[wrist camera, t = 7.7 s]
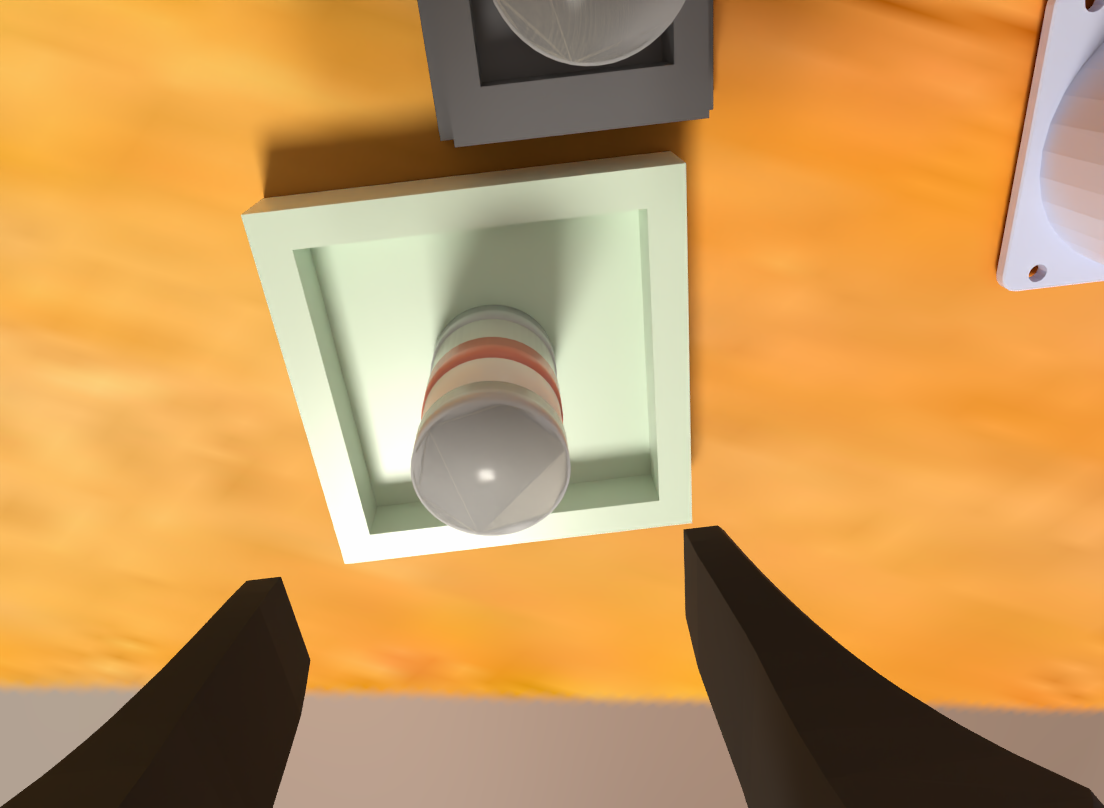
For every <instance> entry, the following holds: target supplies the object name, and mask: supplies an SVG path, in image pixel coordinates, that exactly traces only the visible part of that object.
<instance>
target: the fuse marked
mask: <svg viewBox="0 0 1104 808" xmlns="http://www.w3.org/2000/svg"><path fill="white" fill-rule="evenodd" d="M410 470H411V479H412V483H413V487H414V489H415V492H416V494H417V496H418V498H419V499H420V501H421V503H422V504H423V505H424V506H425V508H426V509H427V510H428V511H429V512H430V513H431V514H432V515H433V516H434V517H436V518H437V519H438V520H440V521H441V522H443V523H444V524H446V525H448V526H450V527H452V528H454V529H457V530H459V531H462V532H466V533H469V534H475V535H482V536H500V535H507V534H512V533H516V532H519V531H522V530H525V529H527V528H529V527H531V526H533V525H535V524H537V523H538V522H540V521H542V520H543V519H544V518H546V517H547V516H548V515H549V514H550V513H551V512H552V511H553V510H554V509H555V508H556V507H557V506H558V504H559V503H560V501H561V500H562V498H563V496H564V494H565V492H566V490H567V487H568V484H569V479H570V471H571V465H570V457H569V450H568V443H567V437H566V432H565V429H564V426H563V410H562V403H561V396H560V389H559V384H558V381H557V369H556V362H555V355H554V349H553V346H552V343H551V340H550V338H549V336H548V334H547V333H546V331H545V330H544V328H543V327H542V326H541V325H540V324H539V323H538V322H537V321H536V320H535V319H534V318H532V317H531V316H530V315H528V314H526V313H525V312H523V311H521V310H518V309H516V308H513V307H509V306H504V305H483V306H478V307H474V308H471V309H469V310H466V311H464V312H463V313H461V314H459V315H457V316H456V317H455V318H454V319H452V320H451V321H450V322H449V323H448V324H447V325H446V326H445V328H444V329H443V330H442V332H441V334H440V335H439V337H438V339H437V342H436V345H435V349H434V354H433V358H432V363H431V371H430V376H429V379H428V382H427V387H426V392H425V396H424V401H423V406H422V412H421V422H420V424H419V427H418V430H417V434H416V439H415V444H414V448H413V453H412V458H411V468H410Z"/></svg>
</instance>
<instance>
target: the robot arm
mask: <svg viewBox="0 0 1104 808" xmlns="http://www.w3.org/2000/svg"><path fill="white" fill-rule="evenodd" d="M1036 265H1038V270H1037V272H1036V273H1035V274H1034V275H1033V276H1031V277H1029V272H1030V270H1031V269H1032V268H1033V267H1034V266H1036ZM997 281H998V283H999V285H1001V286H1003V287H1004V288H1006V289H1008V290H1010V291H1022V290H1030V289H1039V288H1047V287H1056V286H1064V285H1073V284H1081V283H1090V282H1098V281H1104V0H1095V1H1094V3H1093V5H1092V6H1091V7H1090V8H1089V9H1088V10H1087V9H1086V8H1085V0H1048V2H1047V5H1046V10H1045V15H1044V21H1043V26H1042V32H1041V37H1040V42H1039V48H1038V53H1037V59H1036V64H1035V69H1034V75H1033V80H1032V85H1031V91H1030V96H1029V102H1028V107H1027V112H1026V118H1025V123H1024V129H1023V134H1022V139H1021V145H1020V150H1019V155H1018V161H1017V166H1016V172H1015V177H1014V182H1013V188H1012V193H1011V199H1010V204H1009V209H1008V215H1007V220H1006V225H1005V231H1004V236H1003V242H1002V247H1001V252H1000V258H999V263H998V269H997ZM684 567H685V610H686V620H687V624H688V628H689V632H690V637H691V641H692V645H693V649H694V653H695V657H696V661H697V665H698V669H699V672H700V675H701V677H702V680H703V683H704V686H705V689H706V691H707V694H708V697H709V700H710V702H711V705H712V708H713V711H714V713H715V716H716V719H717V721H718V724H719V727H720V730H721V732H722V735H723V738H724V740H725V743H726V746H727V748H728V751H729V754H730V756H731V759H732V762H733V765H734V767H735V770H736V773H737V776H738V778H739V781H740V784H741V787H742V789H743V793H744V796H745V799H746V802H747V805H748V808H1104V805H1103V804H1102V803H1101V802H1100V801H1099V800H1098V798H1097V797H1096V796H1095V795H1094V794H1093V792H1091V790H1090V789H1089V788H1086V787H1084V786H1082V785H1080V784H1078V783H1076V782H1074V781H1071V780H1069V779H1067V778H1065V777H1063V776H1061V775H1058V774H1056V773H1054V772H1052V771H1050V770H1048V769H1046V768H1043V767H1041V766H1039V765H1037V764H1035V763H1033V762H1031V761H1029V760H1026V759H1024V758H1022V757H1020V756H1018V755H1016V754H1013V753H1012V752H1010V751H1008V750H1006V749H1004V748H1002V747H1000V746H998V745H996V744H994V743H993V742H991V741H989V740H987V739H985V738H983V737H981V736H980V735H978V734H976V733H974V732H972V731H970V730H968V729H967V728H965V727H963V726H961V725H959V724H958V723H956V722H954V721H953V720H951V719H949V718H947V717H946V716H944V715H942V714H941V713H939V712H937V711H936V710H934V709H933V708H931V707H929V706H928V705H926V704H925V703H923V702H921V701H920V700H918V699H917V698H915V697H913V696H912V695H910V694H909V693H907V692H905V691H904V690H902V689H900V688H899V687H898V686H896V685H895V684H893V683H892V682H890V681H889V680H887V679H886V678H884V677H883V676H881V675H880V674H879V673H877V672H876V671H875V670H873V669H872V668H871V667H869V666H868V665H866V664H865V663H864V662H862V661H861V660H860V659H858V658H857V657H856V656H854V655H853V654H852V653H851V652H849V651H848V650H847V649H845V648H844V647H843V646H842V645H841V644H839V643H838V642H837V641H836V640H834V639H833V638H832V637H831V636H830V635H828V634H827V633H826V632H825V631H824V630H823V629H821V628H820V627H819V626H818V625H817V624H816V623H814V622H813V621H812V620H811V619H810V618H809V617H808V616H807V615H805V614H804V613H803V612H802V611H801V610H800V609H799V608H798V607H797V606H796V605H795V604H794V603H793V602H792V601H790V600H789V599H788V598H787V597H786V596H785V595H784V594H783V593H782V592H781V591H780V590H779V589H778V588H777V587H776V586H775V585H774V584H773V583H772V582H771V581H770V580H769V579H768V578H767V577H766V576H765V575H764V574H763V573H762V572H761V571H760V570H759V569H758V568H757V567H756V566H755V565H754V564H753V562H752V561H751V560H750V559H749V558H748V557H747V556H746V555H745V554H744V553H743V552H742V551H741V549H740V548H739V547H738V546H737V545H736V544H735V543H734V542H733V540H732V539H731V538H730V537H729V536H728V535H727V533H726V532H725V531H724V530H723V529H721V528H720V527H719V526H710V527H701V528H693V529H684ZM309 665H310V658H309V655H308V652H307V649H306V646H305V644H304V641H303V638H302V635H301V632H300V629H299V627H298V624H297V621H296V618H295V615H294V612H293V610H292V607H291V604H290V601H289V598H288V596H287V593H286V590H285V587H284V584H283V581H282V579H281V577H275V578H267V579H258V580H250V581H246V582H245V583H244V584H243V585H242V586H241V587H240V588H239V589H238V590H237V591H236V592H235V593H234V594H233V595H232V596H231V597H230V598H229V599H228V600H227V602H226V603H225V604H224V605H223V606H222V607H221V608H220V609H219V610H218V611H217V612H216V613H215V614H214V615H213V616H212V617H211V619H210V620H209V621H208V622H207V623H206V624H205V625H204V626H203V627H202V628H201V629H200V630H199V631H198V632H197V633H196V634H195V635H194V636H193V638H192V639H191V640H190V641H189V642H188V643H187V644H186V645H185V646H184V647H183V648H182V649H181V650H180V651H179V652H178V653H177V654H176V655H175V656H174V657H173V658H172V659H171V660H170V661H169V662H168V663H167V664H166V666H165V667H164V668H163V669H162V670H161V671H160V672H159V673H157V674H156V675H155V676H154V677H153V678H152V679H151V680H150V681H149V682H148V683H147V684H146V685H145V686H144V687H143V688H142V689H141V690H140V691H139V692H138V693H137V694H136V695H135V696H134V697H132V698H131V699H130V700H129V701H128V702H127V703H126V704H125V705H124V706H123V707H122V708H121V709H120V710H119V711H118V712H117V713H116V714H115V715H114V716H113V717H112V718H110V719H109V720H108V721H107V722H106V723H105V724H104V725H103V726H102V727H100V728H99V729H98V730H97V731H96V732H95V733H94V734H92V735H91V736H90V737H89V738H88V739H87V740H86V741H84V742H83V743H82V744H81V745H80V746H78V747H77V748H76V749H75V750H73V751H72V752H71V753H70V754H69V755H67V756H66V757H65V758H64V759H63V760H61V761H60V762H59V763H58V764H57V765H55V766H54V767H53V768H52V769H50V770H49V771H48V772H47V773H45V774H44V775H43V776H42V777H40V778H39V779H38V780H36V781H35V782H33V783H32V784H31V785H29V786H28V787H27V788H25V789H24V790H23V791H21V792H20V793H19V794H17V795H16V796H15V797H13V798H12V799H11V800H9V801H8V802H7V803H5V804H4V805H3V806H1V807H0V808H273V805H274V801H275V798H276V795H277V792H278V789H279V785H280V782H281V779H282V776H283V773H284V770H285V766H286V763H287V759H288V756H289V753H290V750H291V746H292V743H293V740H294V737H295V734H296V730H297V727H298V723H299V720H300V716H301V712H302V707H303V701H304V696H305V691H306V684H307V678H308V672H309Z"/></svg>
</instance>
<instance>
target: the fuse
mask: <svg viewBox="0 0 1104 808" xmlns="http://www.w3.org/2000/svg"><path fill="white" fill-rule="evenodd" d="M493 2H494V4H495V6H496V8H497V9H498V11H499V13H500V14H501V16H502V18H503V19H504V20H505V22H506V23H507V24H508V26H509V27H510V28H511V30H512V31H513V32H514V33H515V34H516V35H517V36H518V37H519V38H520V39H521V40H522V41H524V42H525V43H526V44H527V45H529V46H530V47H531V48H533V49H534V50H536V51H537V52H539V53H541V54H543V55H544V56H546V57H549V58H551V59H553V60H556V61H558V62H562V63H566V64H570V65H578V66H600V65H605V64H611V63H614V62H617V61H620V60H623V59H626V58H628V57H630V56H632V55H634V54H636V53H638V52H640V51H641V50H642V49H644V48H645V47H647V46H648V45H650V44H651V43H652V42H653V41H654V40H656V39H657V38H658V37H659V36H660V35H661V34H662V33H663V32H664V31H665V30H666V29H667V27H668V26H669V25H670V24H671V23H672V21H673V20H674V19H675V17H676V16H677V14H678V13H679V11H680V10H681V8H682V6H683V4H684V2H685V0H493Z"/></svg>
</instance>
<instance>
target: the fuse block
mask: <svg viewBox="0 0 1104 808" xmlns="http://www.w3.org/2000/svg"><path fill="white" fill-rule="evenodd" d="M417 1H418V7H419V13H420V19H421V25H422V31H423V37H424V44H425V50H426V56H427V62H428V68H429V74H430V80H431V86H432V92H433V98H434V104H435V110H436V116H437V123H438V129H439V135H440V141H445V140H453V139H454V145H455V147H463V146H472V145H480V144H489V143H498V142H506V141H515V140H523V139H532V138H541V137H549V136H558V135H566V134H575V133H584V132H592V131H601V130H609V129H618V128H627V127H635V126H644V125H653V124H661V123H670V122H678V121H687V120H696V119H704V118H709V110H712V109H713V0H685V2H684V4H683V6H682V8H681V10H680V11H679V13H678V14H677V16H676V17H675V19H674V20H673V21H672V23H671V24H670V25H669V26H668V27H667V29H666V30H665V31H664V32H663V33H662V34H661V35H660V36H659V37H658V38H657V39H656V40H654V41H653V42H652V43H651V44H650V45H648V46H647V47H645V48H644V49H642V50H641V51H640V52H638V53H636V54H634V55H632V56H630V57H628V58H626V59H623V60H620V61H617V62H614V63H611V64H605V65H600V66H578V65H570V64H566V63H562V62H558V61H556V60H553V59H551V58H549V57H546V56H544V55H543V54H541V53H539V52H537V51H536V50H534V49H533V48H531V47H530V46H529V45H527V44H526V43H525V42H524V41H522V40H521V39H520V38H519V37H518V36H517V35H516V34H515V33H514V32H513V31H512V30H511V28H510V27H509V26H508V24H507V23H506V22H505V20H504V19H503V18H502V16H501V14H500V13H499V11H498V9H497V8H496V6H495V4H494V2H493V0H417Z"/></svg>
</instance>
